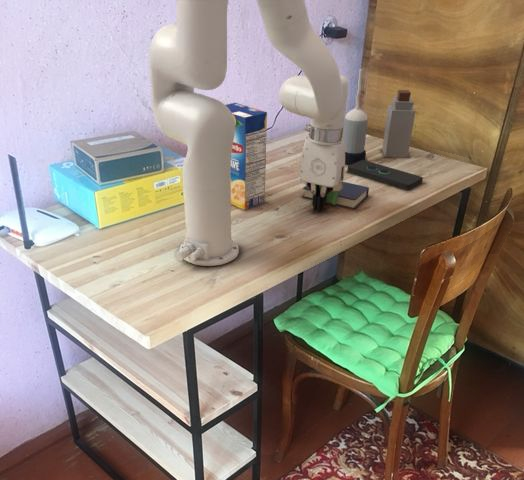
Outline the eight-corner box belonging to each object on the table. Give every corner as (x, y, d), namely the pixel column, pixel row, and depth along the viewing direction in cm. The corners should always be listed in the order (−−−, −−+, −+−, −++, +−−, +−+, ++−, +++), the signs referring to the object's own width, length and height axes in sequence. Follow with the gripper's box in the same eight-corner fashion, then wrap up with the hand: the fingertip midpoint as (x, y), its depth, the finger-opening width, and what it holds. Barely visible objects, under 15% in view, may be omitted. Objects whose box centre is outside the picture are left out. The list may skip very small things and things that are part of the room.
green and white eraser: (335, 205, 146) (331, 203, 144) (315, 200, 148) (312, 198, 146) (343, 176, 145) (340, 173, 142) (324, 172, 147) (320, 169, 145)
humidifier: (346, 153, 179) (355, 64, 164) (370, 159, 175) (381, 69, 160) (332, 161, 174) (341, 69, 159) (356, 167, 170) (368, 74, 155)
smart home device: (362, 158, 171) (424, 176, 160) (362, 164, 172) (422, 182, 161) (346, 165, 165) (408, 184, 155) (346, 171, 167) (407, 191, 156)
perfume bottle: (407, 157, 177) (418, 94, 167) (385, 157, 177) (394, 94, 167) (403, 150, 183) (413, 88, 172) (382, 149, 183) (390, 88, 172)
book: (354, 209, 146) (355, 199, 144) (302, 197, 151) (303, 187, 150) (367, 196, 152) (369, 187, 151) (317, 185, 158) (318, 176, 156)
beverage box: (245, 210, 144) (245, 117, 131) (215, 197, 150) (213, 107, 137) (264, 202, 148) (267, 112, 135) (235, 190, 154) (235, 102, 141)
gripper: (289, 131, 134) (284, 207, 145) (350, 143, 128) (340, 221, 139) (304, 124, 139) (298, 198, 150) (362, 135, 134) (352, 211, 145)
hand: (318, 209), depth 145 cm, fingers closed
